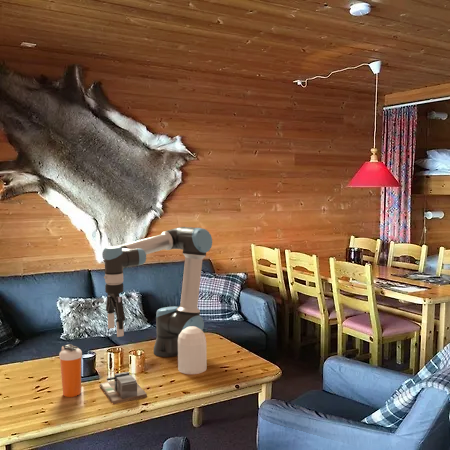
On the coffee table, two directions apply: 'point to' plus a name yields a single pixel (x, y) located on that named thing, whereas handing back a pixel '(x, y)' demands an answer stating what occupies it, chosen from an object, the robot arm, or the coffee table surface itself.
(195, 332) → the container
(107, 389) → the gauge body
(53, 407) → the coffee table surface
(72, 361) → the shaker bottle
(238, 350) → the coffee table surface
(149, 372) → the coffee table surface
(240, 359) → the coffee table surface
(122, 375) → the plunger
